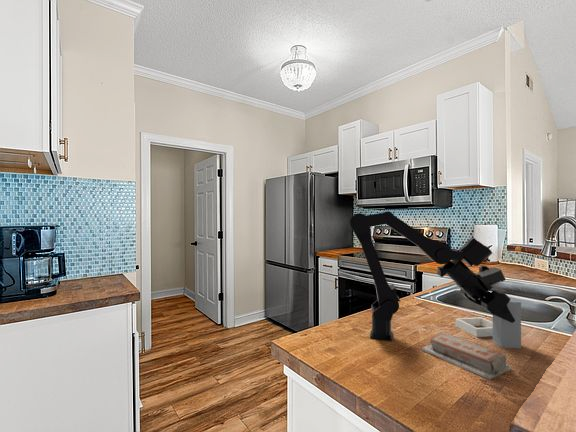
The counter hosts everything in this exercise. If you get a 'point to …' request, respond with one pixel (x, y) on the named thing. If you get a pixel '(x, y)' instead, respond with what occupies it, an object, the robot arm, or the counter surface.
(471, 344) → the packaged product
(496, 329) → the slate block
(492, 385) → the counter surface
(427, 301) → the counter surface
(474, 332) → the tray
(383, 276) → the robot arm
